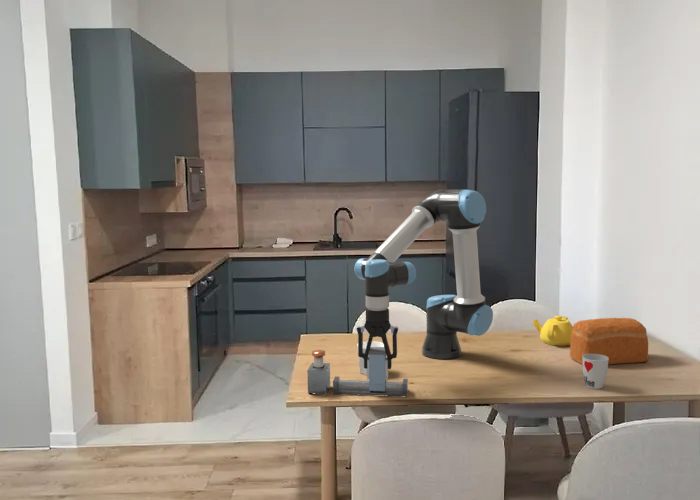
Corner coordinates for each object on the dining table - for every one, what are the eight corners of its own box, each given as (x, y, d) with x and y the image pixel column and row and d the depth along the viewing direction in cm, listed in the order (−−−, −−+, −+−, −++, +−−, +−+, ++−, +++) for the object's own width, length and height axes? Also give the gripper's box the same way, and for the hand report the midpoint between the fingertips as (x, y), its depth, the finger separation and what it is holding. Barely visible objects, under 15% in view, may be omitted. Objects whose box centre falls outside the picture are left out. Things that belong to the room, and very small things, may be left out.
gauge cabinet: (330, 386, 217) (329, 363, 216) (326, 394, 209) (325, 370, 208) (312, 385, 217) (312, 362, 216) (307, 393, 210) (307, 370, 209)
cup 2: (577, 382, 217) (578, 354, 216) (600, 381, 218) (601, 353, 217) (588, 391, 209) (589, 361, 208) (612, 390, 210) (613, 360, 209)
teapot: (539, 333, 282) (540, 308, 281) (582, 339, 272) (583, 313, 270) (522, 343, 266) (523, 317, 265) (567, 350, 256) (568, 323, 254)
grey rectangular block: (386, 385, 213) (386, 347, 211) (385, 391, 207) (384, 352, 205) (371, 384, 214) (370, 346, 212) (369, 391, 208) (368, 352, 206)
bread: (651, 363, 238) (653, 321, 236) (584, 367, 234) (586, 324, 232) (630, 352, 251) (631, 313, 249) (566, 356, 248) (568, 316, 246)
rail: (407, 389, 213) (407, 377, 212) (406, 397, 206) (406, 384, 205) (335, 387, 216) (335, 375, 215) (332, 394, 209) (332, 382, 209)
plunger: (326, 376, 214) (326, 350, 213) (324, 380, 210) (323, 353, 209) (313, 376, 215) (313, 349, 214) (311, 380, 211) (310, 353, 210)
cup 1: (357, 367, 237) (357, 341, 236) (384, 367, 236) (384, 341, 235) (356, 376, 227) (356, 348, 226) (385, 376, 227) (385, 348, 225)
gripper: (406, 306, 209) (406, 375, 212) (350, 305, 212) (351, 373, 215) (405, 311, 202) (405, 382, 205) (347, 310, 204) (348, 381, 207)
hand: (377, 378), depth 210 cm, fingers closed on grey rectangular block, 5 cm apart
